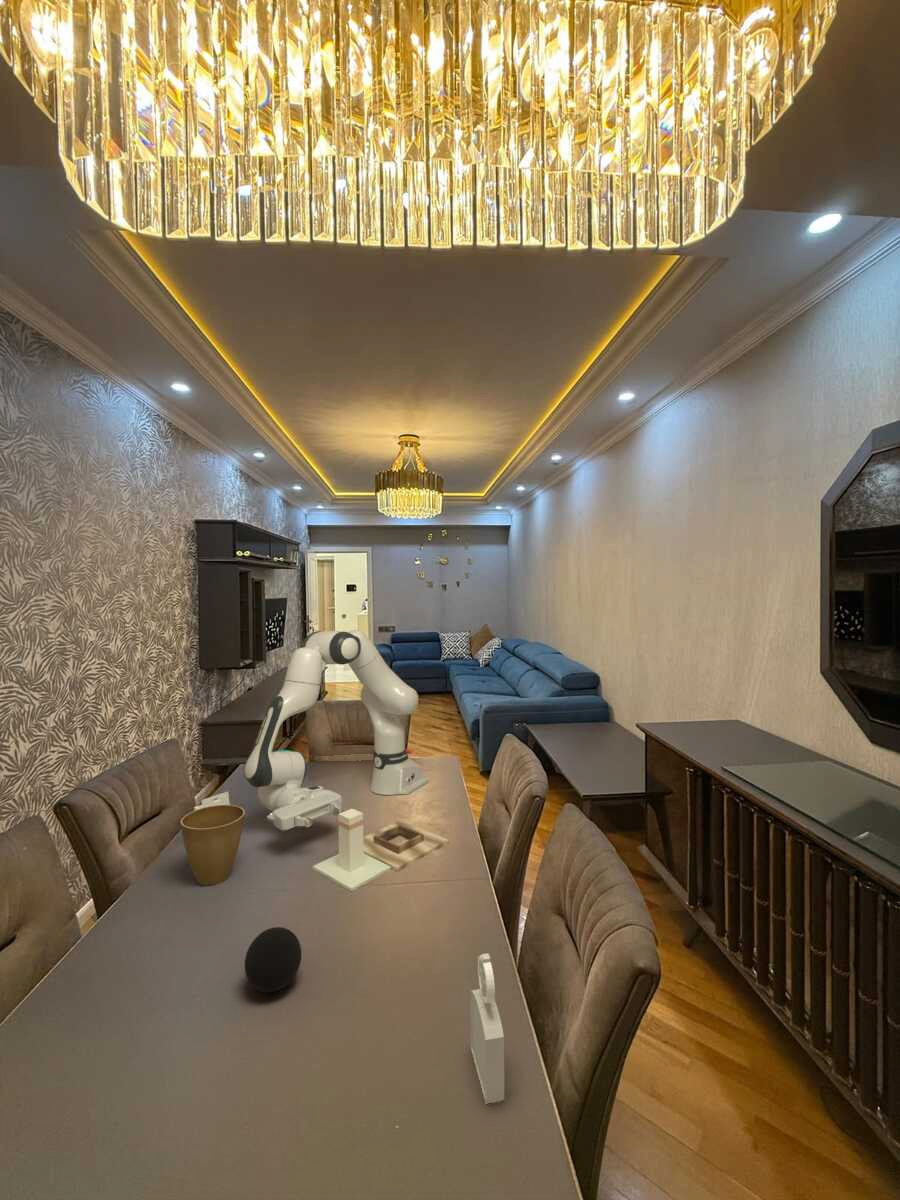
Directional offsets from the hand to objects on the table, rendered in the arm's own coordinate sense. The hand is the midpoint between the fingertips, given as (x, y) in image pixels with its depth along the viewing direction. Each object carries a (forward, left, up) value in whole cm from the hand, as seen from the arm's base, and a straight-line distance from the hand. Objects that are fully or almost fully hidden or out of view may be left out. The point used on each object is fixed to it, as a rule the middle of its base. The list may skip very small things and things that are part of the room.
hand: (324, 817), depth 146 cm
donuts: (-25, -62, -11) cm, 68 cm away
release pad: (0, +12, -10) cm, 16 cm away
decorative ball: (+35, +32, -11) cm, 49 cm away
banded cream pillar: (0, +11, -10) cm, 15 cm away
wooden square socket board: (-17, +12, -10) cm, 23 cm away
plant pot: (+25, -12, -11) cm, 30 cm away
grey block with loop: (+24, +73, -11) cm, 78 cm away
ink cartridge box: (+17, -30, -11) cm, 37 cm away
